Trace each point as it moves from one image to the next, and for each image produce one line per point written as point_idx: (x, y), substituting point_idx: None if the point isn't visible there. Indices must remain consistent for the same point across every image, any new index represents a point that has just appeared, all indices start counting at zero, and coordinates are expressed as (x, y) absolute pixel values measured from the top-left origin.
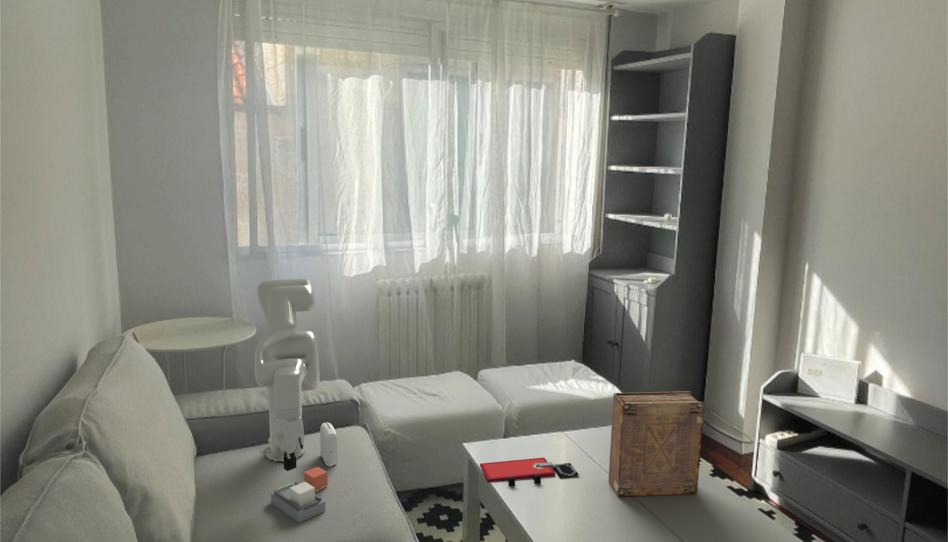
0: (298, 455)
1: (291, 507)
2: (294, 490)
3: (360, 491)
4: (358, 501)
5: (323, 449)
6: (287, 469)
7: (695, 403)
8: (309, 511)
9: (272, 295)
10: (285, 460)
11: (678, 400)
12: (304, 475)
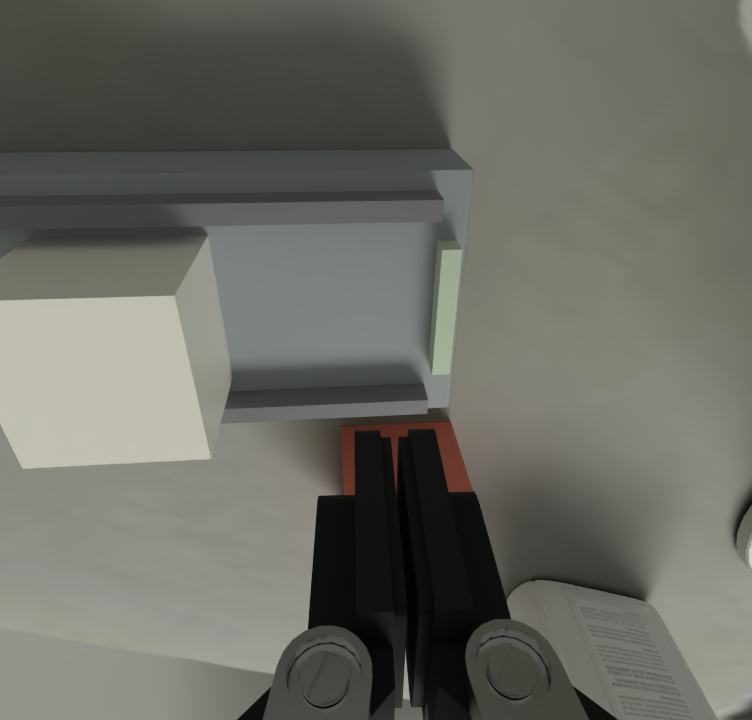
0: None
1: (68, 177)
2: (73, 304)
3: (174, 581)
4: (73, 540)
5: (610, 663)
6: (356, 452)
7: None
8: None
9: None
10: (390, 569)
11: None
12: (462, 485)
